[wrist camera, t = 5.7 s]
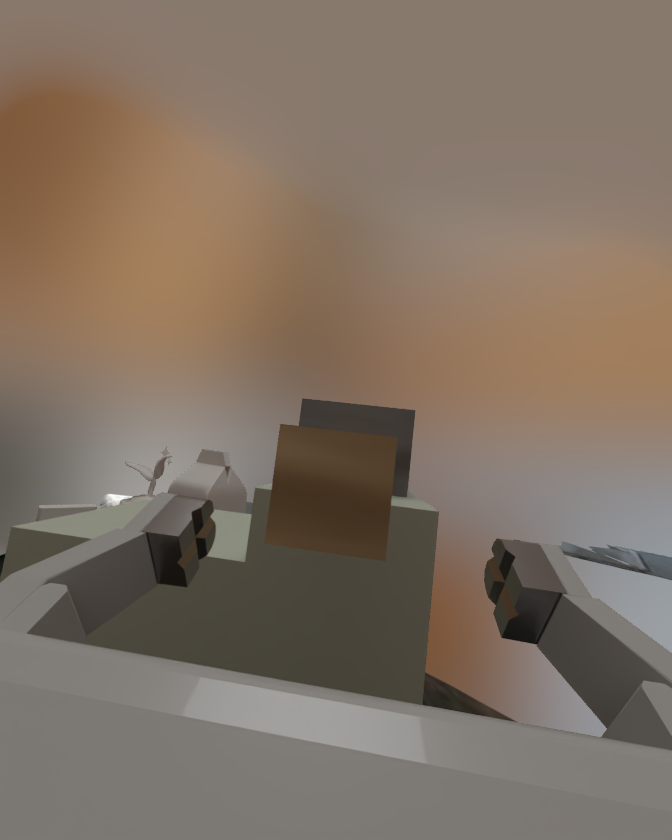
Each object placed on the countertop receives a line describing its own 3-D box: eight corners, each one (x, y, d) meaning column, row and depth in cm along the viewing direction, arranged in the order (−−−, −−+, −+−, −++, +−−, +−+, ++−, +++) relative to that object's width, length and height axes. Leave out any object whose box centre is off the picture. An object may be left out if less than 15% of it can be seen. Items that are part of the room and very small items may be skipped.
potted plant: (171, 536, 94) (186, 447, 96) (149, 548, 82) (166, 446, 84) (126, 531, 93) (142, 442, 96) (98, 542, 82) (116, 440, 84)
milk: (147, 584, 62) (170, 446, 65) (197, 569, 73) (215, 449, 75) (191, 604, 57) (214, 452, 59) (238, 584, 67) (257, 455, 70)
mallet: (492, 576, 8) (509, 330, 8) (169, 529, 9) (205, 305, 9) (397, 488, 29) (404, 419, 29) (305, 477, 29) (314, 409, 30)
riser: (388, 1094, 15) (438, 511, 18) (-79, 961, 17) (25, 457, 20) (376, 813, 27) (407, 489, 30) (101, 755, 29) (151, 456, 32)
